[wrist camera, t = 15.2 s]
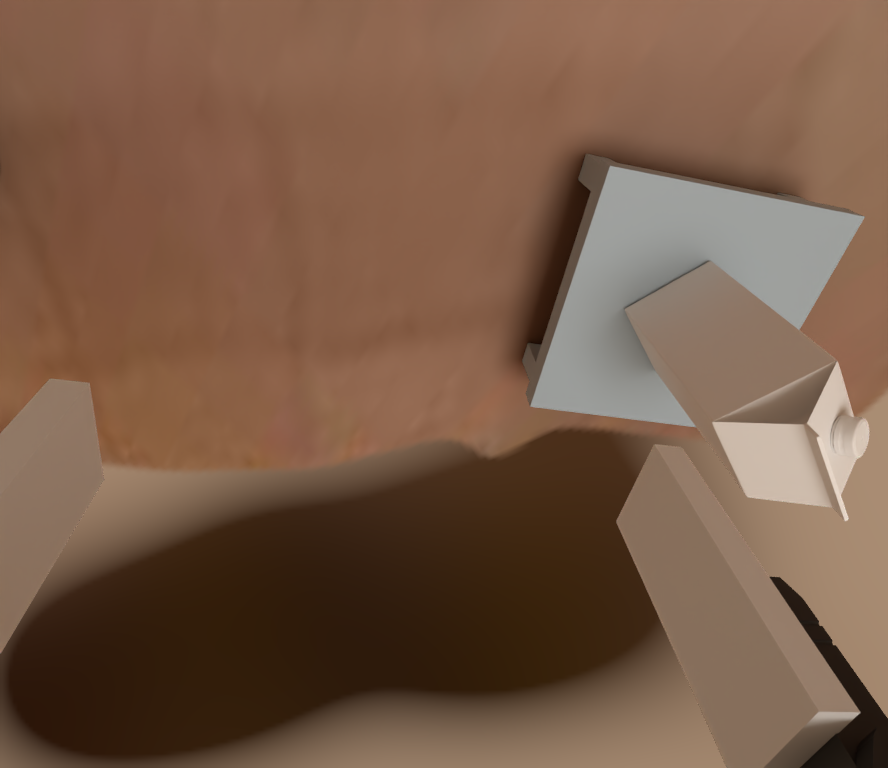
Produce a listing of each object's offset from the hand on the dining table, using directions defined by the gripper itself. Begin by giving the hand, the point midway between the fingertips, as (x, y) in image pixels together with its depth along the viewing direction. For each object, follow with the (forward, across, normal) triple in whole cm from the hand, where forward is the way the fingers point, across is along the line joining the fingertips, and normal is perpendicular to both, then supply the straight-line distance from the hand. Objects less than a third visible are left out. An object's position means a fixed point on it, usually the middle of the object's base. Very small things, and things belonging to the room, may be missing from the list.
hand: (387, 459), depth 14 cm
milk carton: (+29, +24, -7) cm, 39 cm away
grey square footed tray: (+36, +25, -7) cm, 44 cm away
